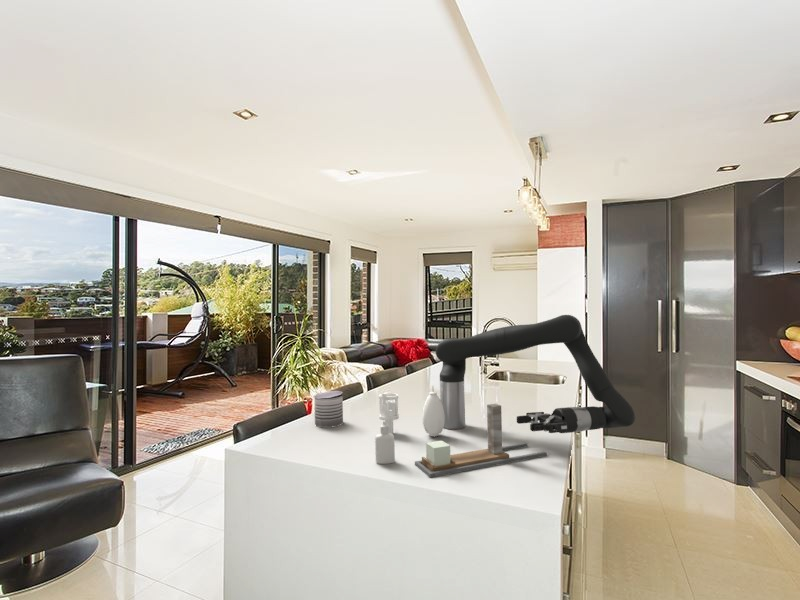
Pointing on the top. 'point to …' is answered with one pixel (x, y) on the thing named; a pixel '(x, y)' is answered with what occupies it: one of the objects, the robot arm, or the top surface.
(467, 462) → the wooden board with post
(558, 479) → the top surface
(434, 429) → the sauce bottle
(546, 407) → the top surface
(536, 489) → the top surface
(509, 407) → the top surface
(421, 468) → the track
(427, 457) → the block
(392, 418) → the white tall plastic piece
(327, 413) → the can
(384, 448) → the eye dropper bottle
